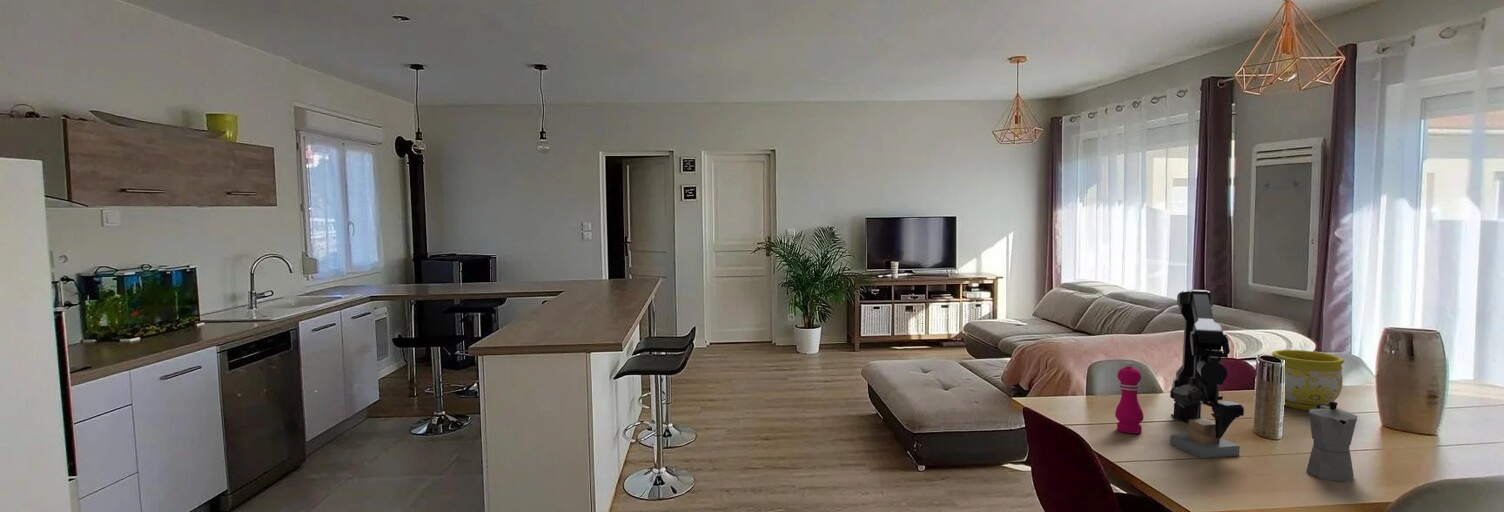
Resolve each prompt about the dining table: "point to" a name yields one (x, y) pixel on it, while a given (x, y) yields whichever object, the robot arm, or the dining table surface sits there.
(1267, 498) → the dining table surface
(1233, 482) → the dining table surface
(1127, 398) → the pepper mill
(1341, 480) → the coffeepot
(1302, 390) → the flowerpot
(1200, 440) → the walnut cube
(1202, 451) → the slate plinth
